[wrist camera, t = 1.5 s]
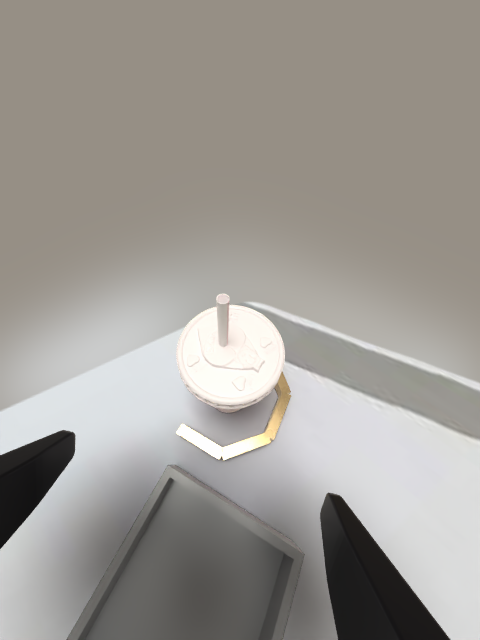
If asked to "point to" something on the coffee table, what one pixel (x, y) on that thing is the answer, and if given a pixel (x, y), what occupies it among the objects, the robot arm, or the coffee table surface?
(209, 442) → the collar
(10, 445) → the coffee table surface
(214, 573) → the tray
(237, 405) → the smoothie
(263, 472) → the coffee table surface
